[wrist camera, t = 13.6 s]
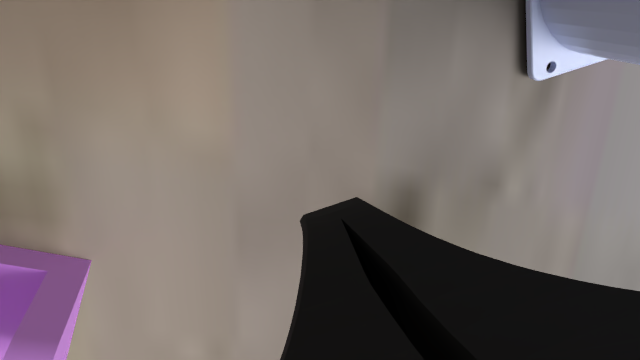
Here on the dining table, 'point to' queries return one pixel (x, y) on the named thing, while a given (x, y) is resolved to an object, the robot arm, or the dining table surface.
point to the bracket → (38, 303)
